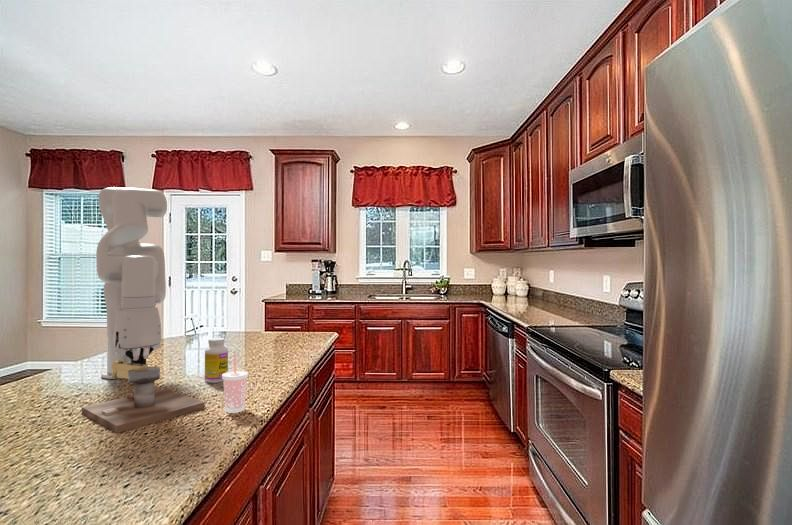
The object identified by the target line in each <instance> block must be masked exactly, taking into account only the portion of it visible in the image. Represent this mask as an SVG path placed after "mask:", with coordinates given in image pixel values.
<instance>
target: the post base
mask: <svg viewBox="0 0 792 525" xmlns="http://www.w3.org/2000/svg"><path fill="white" fill-rule="evenodd" d="M205 403H206V402H204V401H202V400H199V399H198V398H197V399H196V398H194V397H191V396H188V395H186V394H183V393H180V392H177V391H175V390H173V389H172V390H171V389H169V388H167V387H164V388H160V389H156V390H155V381H153V382H148V383H133V395H129V394H128V395H126V396H125V397H121V398H116V399H112V400H108V401H106V400H105V401H103V402H99V403H98V402H97V403H95V404H89V405H85V406H84V405H83V406H81V414H82V415H84V416H85V417H87V418H89V419H91V420H93V421H94V422H96V423H98V424H100V425H101V426H104V427H106V428H107V429H109V430H111V431H113V432H114V433H116V434H118V432H119V433H121V432H125V431H129V430H132V429H136V428H140V427H143V426H146V425H149V424H154V423H157V422H160V420H161V421H164V420H168V419H171V418H174V417H179V416H182V415H185V414H188V413H189V414H190V413H192V412H195V411H199V410H203V409H206V408H205Z"/></svg>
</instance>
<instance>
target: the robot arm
mask: <svg viewBox="0 0 792 525" xmlns="http://www.w3.org/2000/svg"><path fill="white" fill-rule="evenodd" d="M98 206H99V210H100V213H101V216H102V218H103V220H104V223H105V225H106V229H107V232H106V233H105V234H103V236H101V239H100V240H99V241H98V243H97V247H96V251H95V252H96V254H95V256H96V257H95V258H96V272H97V277H98V278H99V280H101V281H102V282H104V284H103V295H104V296H103V297H104V303H105V308H106V309H105V310H106V370H103V371H102V372H101V373H100V377H101V378H103V379H107V380H109V379H110V380H113V379H114V380H115V379H116V380H118V379H121V378H112V361H116V360H124V362H127V363H138V364H147V359H148V358H149V356H150V354H151V353H153V351H156V350H159V349H161V347H162V346H161V342H162V325H161V323H162V322H161V316H160V312H159V309H158V307H156V306H157V305H158V304H162V303H163V302H164V301H165V299H166V296H167V295H166V294H167V289H166V288H167V287H166V286H167V285H166V261H165V253H164V252H165V251H164V249H163V248H162V247H161V245H158V244H156V243H155V244H154V243H140V242H139V241H140V240H141V239H143V238H145V236H146V235H147V234H148V232H149V226H148V225H149V224H148V218H163V217H164V216H165V215H166V214H167V211H168V201H167V197H166V195H165V194H164V192H163V191H161V190H158V189H152V188H151V189H149V188H140V187H139V188H138V187H117V186H116V187H115V186H113V187H112V186H111V187H105V188H103V189H101V190H100V191H99V193H98ZM147 217H148V218H147Z"/></svg>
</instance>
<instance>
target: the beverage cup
mask: <svg viewBox="0 0 792 525" xmlns="http://www.w3.org/2000/svg"><path fill="white" fill-rule="evenodd" d="M248 377H249V372H248V371H244V370H237V353H234V354H233V370H232V371H228V372H226V373H223V374H222V379H223V382H222V383H223V396H224V397H223V398H224V410H225V412H226V413H228V414H236V413H237V414H238V413H241V412H243V411H245V410H246V396H247V395H246V394H247V380H248Z"/></svg>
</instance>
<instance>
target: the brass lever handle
mask: <svg viewBox="0 0 792 525" xmlns="http://www.w3.org/2000/svg"><path fill="white" fill-rule="evenodd" d="M112 378H120V379H126V380H127V382H128V383H131V384H134V383H148V382H153V381H154V382H156V381H158V380H160V379H161V368H160V367H159V366H149V365H148V363H146V364H138V363H127V362H124V360H116V361H112Z"/></svg>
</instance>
